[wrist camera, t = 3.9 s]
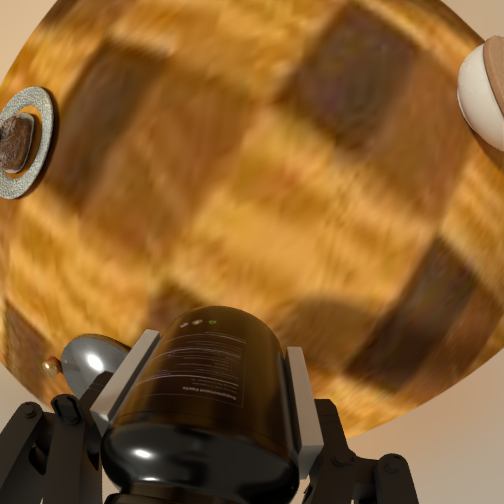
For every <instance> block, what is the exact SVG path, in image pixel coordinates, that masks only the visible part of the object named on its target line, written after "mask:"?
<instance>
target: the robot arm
mask: <svg viewBox="0 0 504 504" xmlns="http://www.w3.org/2000/svg"><path fill="white" fill-rule="evenodd" d="M159 340H160V335H159V331H154V330H149V329H146V330H145V332H144V333H143V334H142V336H141V337H140V338H139V340H138V341H137V343H136V344H135V345H134V347H133V348H132V349H131V351H130V352H129V354H128V355H127V356H126V358H125V359H124V361H123V362H122V363H121V365H120V366H119V368H118V369H117V371H116V372H115V373H112V372H109V371H104V372H102V373H101V374H99V375H98V376H97V377H96V378H95V379H94V381H93V382H92V384H91V385H90V386H89V387H88V389H87V390H86V391H85V393H84V394H83V395H82V397H81V398H80V399H79V400H78V399H77V398H76V397H75V396H73V395H70V394H61V395H58V396H56V397H55V398H53V399H52V401H51V405H52V407H53V409H54V412H55V413H49V412H43V410H42V408H41V407H40V405H39V404H37V403H35V402H25V403H23V404H21V405H20V406H19V407H18V409H17V410H16V412H15V413H14V415H13V416H12V417H11V419H10V420H9V422H8V423H7V425H6V426H5V428H4V429H3V431H2V432H1V434H0V504H40V503H41V500H42V498H43V503H42V504H103V502H102V462H101V457H100V444H101V439H102V437H103V435H104V433H105V431H106V429H107V427H108V425H109V423H110V421H111V420H112V418H113V416H114V414H115V413H116V411H117V409H118V407H119V406H120V404H121V402H122V401H123V399H124V397H125V396H126V394H127V392H128V390H129V389H130V387H131V385H132V384H133V382H134V380H135V379H136V377H137V375H138V374H139V372H140V370H141V369H142V367H143V366H144V364H145V362H146V361H147V359H148V357H149V356H150V354H151V352H152V351H153V349H154V348H155V346H156V344H157V343H158V341H159ZM284 362H285V368H286V375H287V382H288V388H289V395H290V402H291V410H292V417H293V424H294V431H295V439H296V446H297V454H298V462H299V473H300V479H306V478H307V476H308V475H309V476H310V483H309V485H308V487H307V488H306V490H305V492H304V494H305V495H304V498H303V501H302V504H351V500H354V504H419V502H418V499H417V494H416V491H415V487H414V483H413V480H412V476H411V473H410V469H409V466H408V463H407V461H406V460H405V458H403V457H402V456H401V455H398V454H392V453H391V454H386V455H384V456H383V457H381V458H380V459H379V460H374V459H365V458H360V457H358V456H356V454H355V453H354V452H353V451H351V450H350V449H349V448H348V445H347V442H346V438H345V435H344V431H343V428H342V425H341V423H340V418H339V416H338V412H337V408H336V406H335V405H334V404H333V403H332V401H331V400H330V399H314V398H313V393H312V389H311V385H310V381H309V376H308V372H307V368H306V364H305V360H304V355H303V351H302V347H291V346H287V351H286V356H285V361H284Z"/></svg>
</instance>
